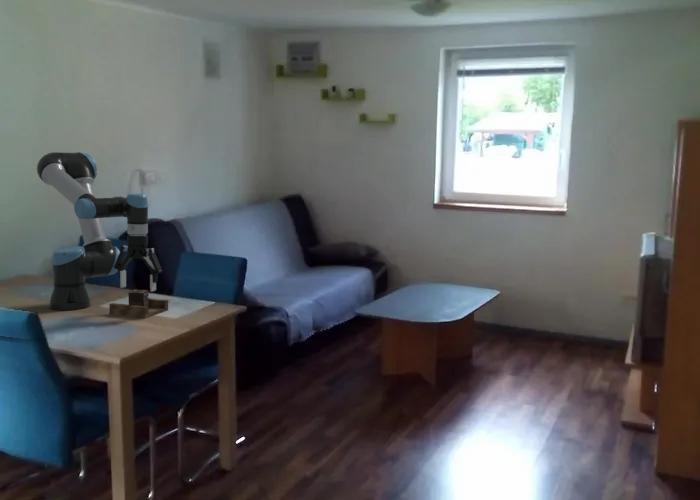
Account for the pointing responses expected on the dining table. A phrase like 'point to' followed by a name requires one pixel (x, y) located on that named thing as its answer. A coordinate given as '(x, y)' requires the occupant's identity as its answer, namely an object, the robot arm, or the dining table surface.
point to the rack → (139, 309)
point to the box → (139, 298)
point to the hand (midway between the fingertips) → (138, 289)
